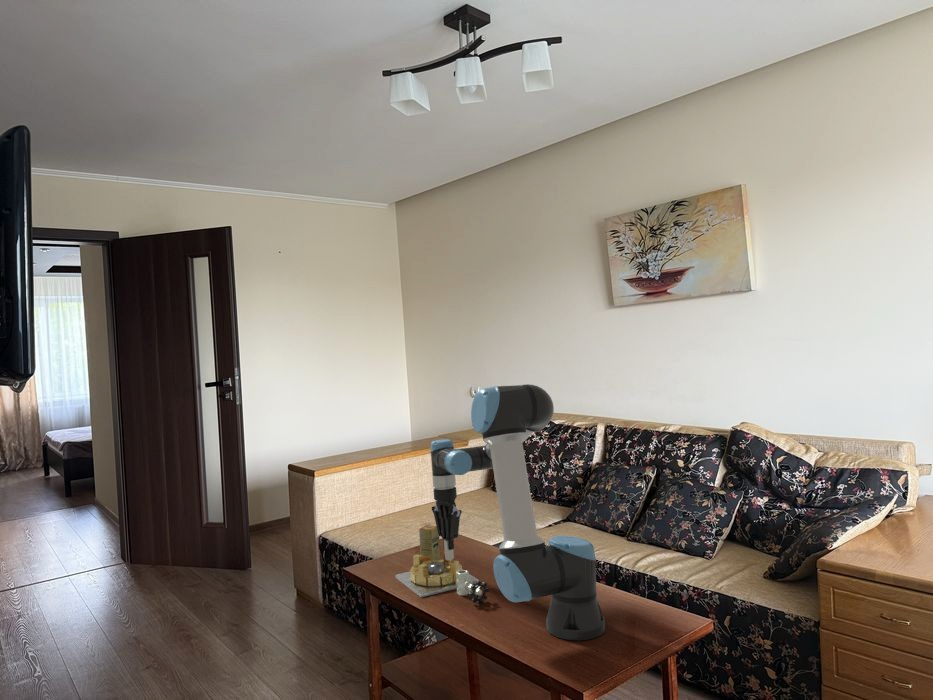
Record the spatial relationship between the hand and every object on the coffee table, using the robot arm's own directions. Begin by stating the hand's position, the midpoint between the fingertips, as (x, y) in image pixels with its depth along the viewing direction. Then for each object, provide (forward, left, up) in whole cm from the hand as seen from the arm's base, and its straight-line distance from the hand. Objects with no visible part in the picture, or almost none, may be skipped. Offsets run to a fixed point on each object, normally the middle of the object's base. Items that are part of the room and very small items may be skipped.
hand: (449, 558), depth 211 cm
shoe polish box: (+15, 0, -5) cm, 16 cm away
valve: (-21, +4, -5) cm, 22 cm away
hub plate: (-2, +6, -5) cm, 8 cm away
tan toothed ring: (-2, +6, -4) cm, 8 cm away
